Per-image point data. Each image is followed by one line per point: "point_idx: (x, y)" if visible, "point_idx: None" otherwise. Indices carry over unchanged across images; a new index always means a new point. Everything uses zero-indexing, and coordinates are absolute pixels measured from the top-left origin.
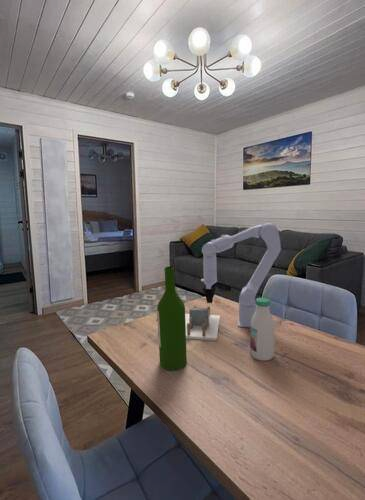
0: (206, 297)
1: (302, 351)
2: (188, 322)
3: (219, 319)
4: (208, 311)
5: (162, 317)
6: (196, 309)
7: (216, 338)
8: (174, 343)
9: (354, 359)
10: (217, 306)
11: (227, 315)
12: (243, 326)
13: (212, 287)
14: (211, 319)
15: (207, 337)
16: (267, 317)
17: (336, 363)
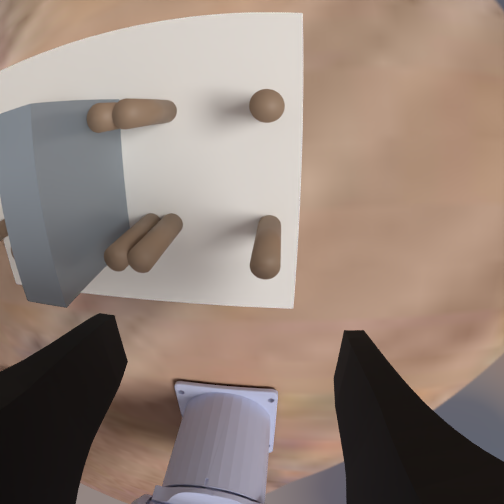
0: (44, 355)
1: (97, 461)
2: (124, 79)
3: (223, 304)
4: (34, 296)
5: None
6: (8, 187)
7: (16, 283)
8: None
9: (115, 496)
10: (482, 272)
11: (330, 340)
12: (178, 399)
13: (357, 491)
14: (209, 251)
15: (5, 243)
16: None
17: (86, 476)
